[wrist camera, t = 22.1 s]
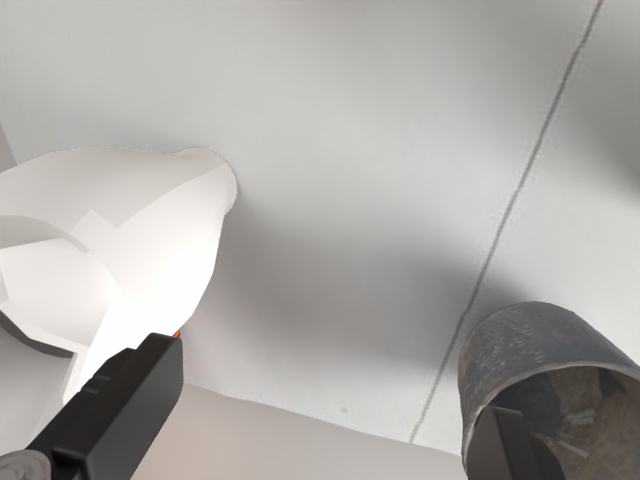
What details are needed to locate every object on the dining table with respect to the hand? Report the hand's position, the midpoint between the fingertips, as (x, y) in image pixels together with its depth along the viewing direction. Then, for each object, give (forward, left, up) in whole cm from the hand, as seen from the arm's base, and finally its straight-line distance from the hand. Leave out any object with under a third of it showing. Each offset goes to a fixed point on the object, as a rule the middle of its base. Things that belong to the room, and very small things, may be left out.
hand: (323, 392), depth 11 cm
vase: (+17, +6, -32) cm, 37 cm away
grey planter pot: (-20, +18, -33) cm, 43 cm away
